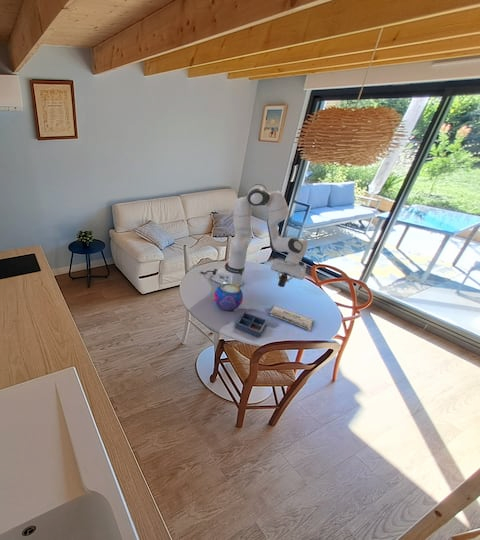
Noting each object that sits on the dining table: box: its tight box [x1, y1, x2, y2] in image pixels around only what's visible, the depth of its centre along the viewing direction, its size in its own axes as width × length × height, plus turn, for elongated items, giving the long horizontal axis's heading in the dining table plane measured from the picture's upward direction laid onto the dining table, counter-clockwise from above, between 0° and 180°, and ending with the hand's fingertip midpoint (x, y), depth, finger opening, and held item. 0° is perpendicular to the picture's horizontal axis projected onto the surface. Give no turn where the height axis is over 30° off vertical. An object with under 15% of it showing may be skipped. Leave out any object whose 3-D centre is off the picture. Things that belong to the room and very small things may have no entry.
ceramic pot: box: [213, 283, 244, 311], centre depth 184 cm, size 18×18×15 cm
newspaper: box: [269, 305, 314, 331], centre depth 176 cm, size 23×12×2 cm, turn 48°
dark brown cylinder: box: [277, 272, 289, 288], centre depth 186 cm, size 4×4×10 cm
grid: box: [235, 311, 268, 338], centre depth 169 cm, size 13×13×4 cm
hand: (282, 280), depth 186 cm, fingers closed on dark brown cylinder, 4 cm apart
